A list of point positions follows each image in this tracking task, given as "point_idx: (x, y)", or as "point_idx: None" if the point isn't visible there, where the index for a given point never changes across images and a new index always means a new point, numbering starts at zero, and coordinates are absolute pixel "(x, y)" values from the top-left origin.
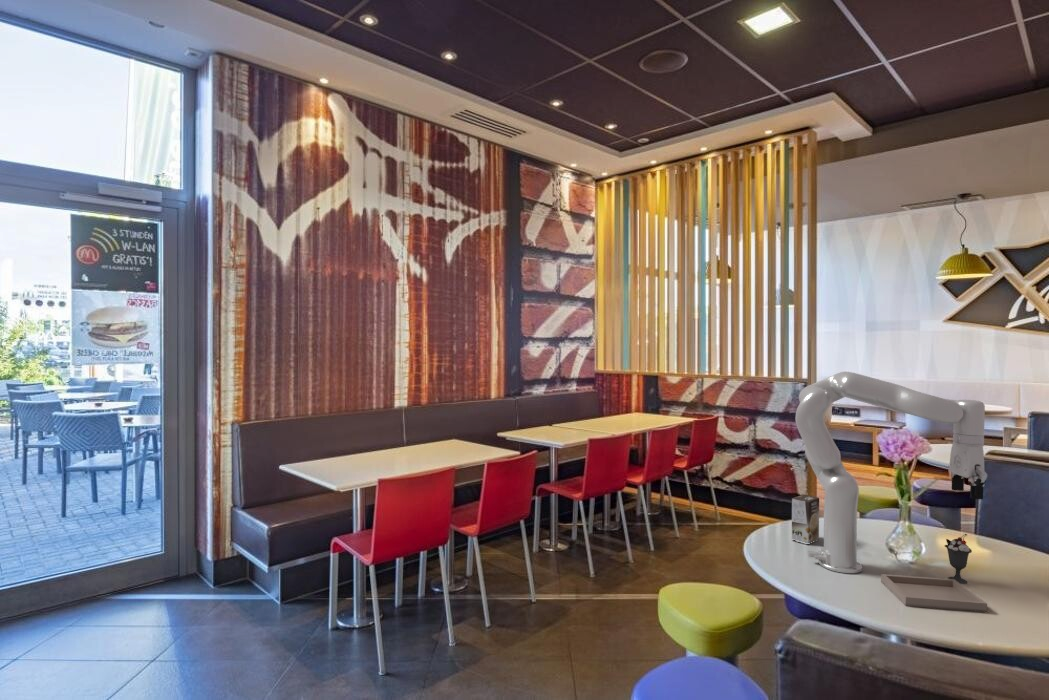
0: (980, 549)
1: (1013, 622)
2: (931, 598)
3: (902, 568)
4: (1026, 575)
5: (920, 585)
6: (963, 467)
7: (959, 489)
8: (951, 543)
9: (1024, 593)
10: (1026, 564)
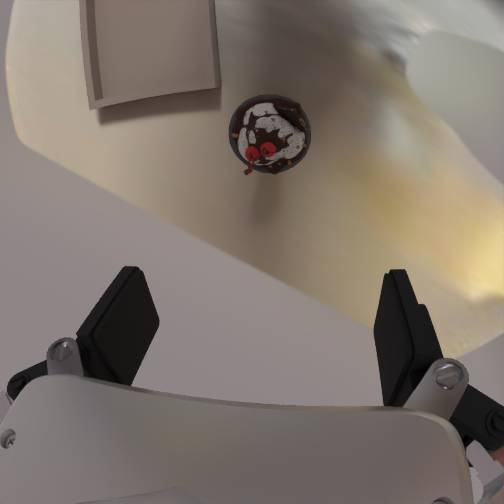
0: (481, 287)
1: (78, 138)
2: (82, 10)
3: (338, 10)
4: (344, 292)
5: (196, 7)
6: (24, 477)
7: (379, 314)
8: (269, 116)
9: (232, 231)
10: None
